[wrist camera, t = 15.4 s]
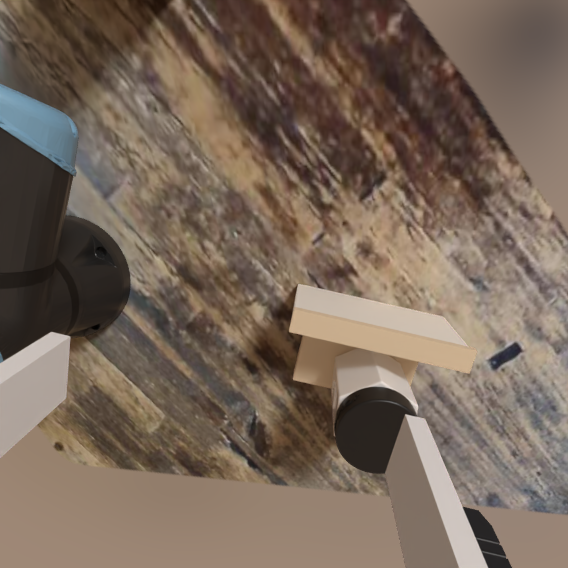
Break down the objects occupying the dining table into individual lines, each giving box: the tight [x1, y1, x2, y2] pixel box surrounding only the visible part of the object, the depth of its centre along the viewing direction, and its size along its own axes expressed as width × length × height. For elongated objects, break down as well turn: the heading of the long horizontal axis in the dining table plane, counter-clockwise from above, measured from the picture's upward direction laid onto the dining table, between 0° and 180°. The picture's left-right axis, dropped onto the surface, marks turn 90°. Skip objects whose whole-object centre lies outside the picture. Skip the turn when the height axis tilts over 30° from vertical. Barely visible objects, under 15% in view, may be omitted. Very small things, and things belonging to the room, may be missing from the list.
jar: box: [331, 348, 418, 474], centre depth 45 cm, size 9×8×12 cm
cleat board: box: [289, 284, 478, 389], centre depth 47 cm, size 18×12×11 cm, turn 78°
